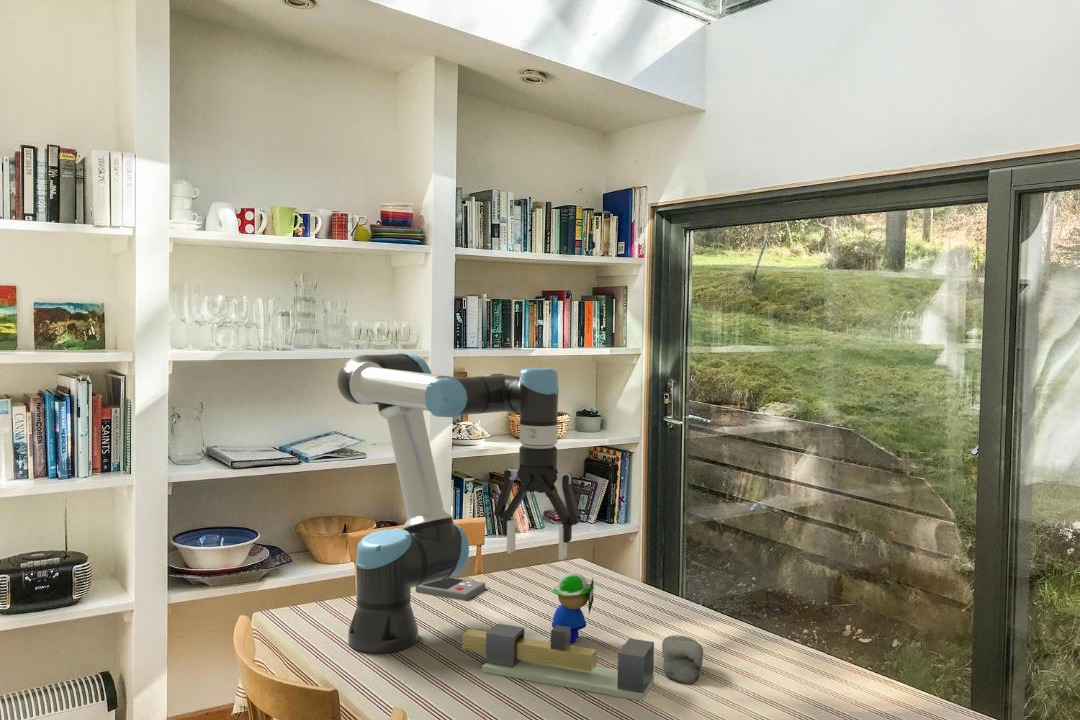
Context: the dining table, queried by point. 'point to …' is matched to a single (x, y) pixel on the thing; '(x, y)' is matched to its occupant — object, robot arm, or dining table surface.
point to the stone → (682, 659)
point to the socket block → (635, 665)
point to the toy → (572, 602)
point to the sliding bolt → (540, 649)
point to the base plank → (568, 677)
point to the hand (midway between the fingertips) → (536, 554)
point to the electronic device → (452, 588)
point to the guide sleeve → (502, 645)
